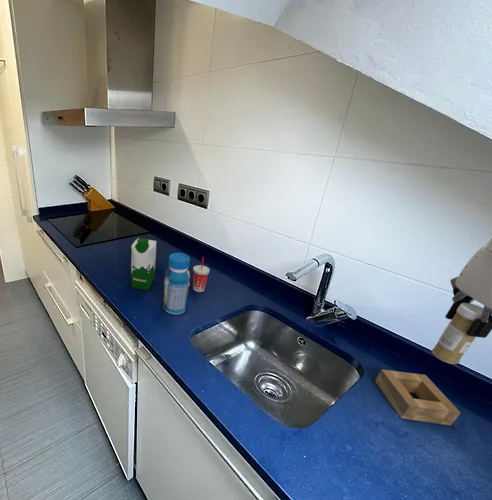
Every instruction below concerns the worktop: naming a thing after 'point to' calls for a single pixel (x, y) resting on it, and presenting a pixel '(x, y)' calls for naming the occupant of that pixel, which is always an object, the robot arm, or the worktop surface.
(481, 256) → the robot arm
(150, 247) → the milk carton
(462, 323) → the sprinkles bottle
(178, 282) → the beverage bottle
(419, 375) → the frame
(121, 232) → the worktop surface
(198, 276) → the beverage cup
